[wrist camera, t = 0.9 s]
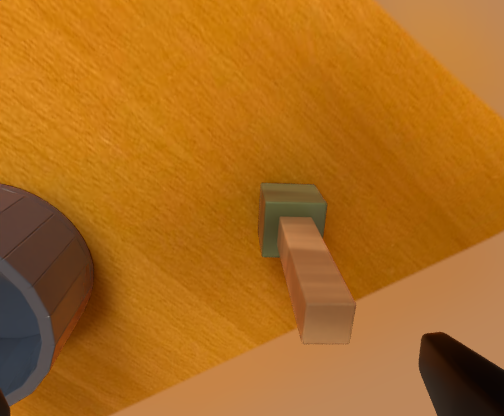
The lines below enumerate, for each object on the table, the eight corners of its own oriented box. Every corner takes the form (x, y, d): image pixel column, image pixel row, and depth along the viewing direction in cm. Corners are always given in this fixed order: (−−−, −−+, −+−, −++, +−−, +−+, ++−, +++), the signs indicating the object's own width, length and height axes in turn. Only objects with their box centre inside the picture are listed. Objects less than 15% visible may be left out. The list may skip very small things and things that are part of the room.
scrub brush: (309, 233, 22) (367, 362, 13) (257, 232, 22) (278, 362, 12) (314, 183, 21) (383, 285, 12) (260, 182, 21) (286, 284, 11)
